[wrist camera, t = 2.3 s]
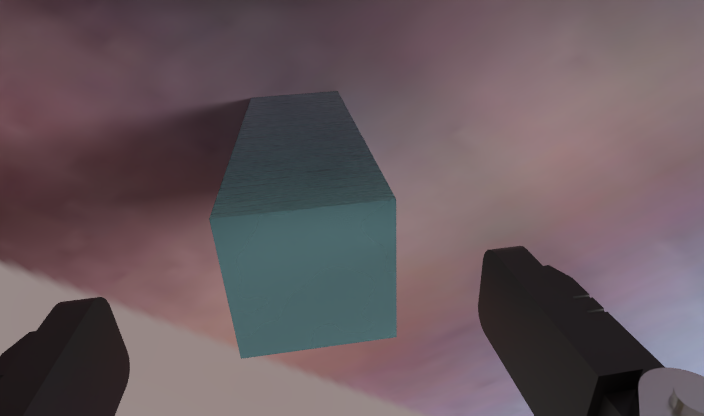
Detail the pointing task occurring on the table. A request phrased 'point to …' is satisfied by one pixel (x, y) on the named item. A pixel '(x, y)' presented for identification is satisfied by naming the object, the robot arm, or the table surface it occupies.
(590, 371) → the robot arm
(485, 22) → the table surface
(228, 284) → the bracket post
